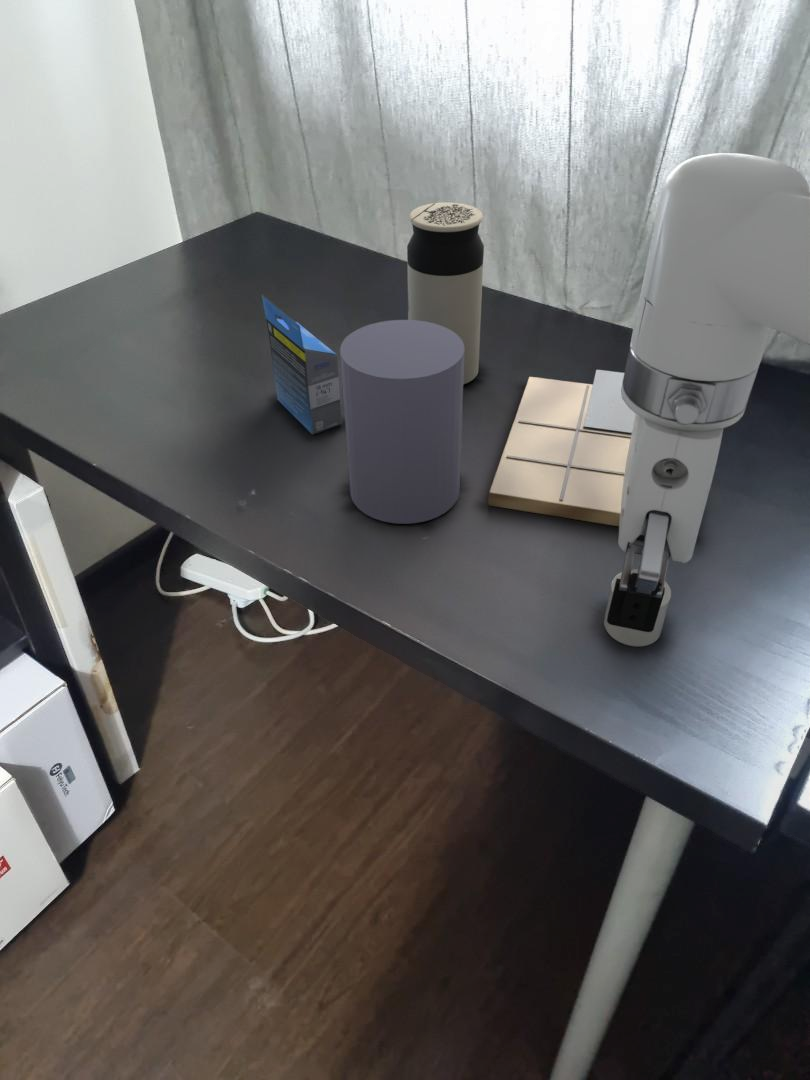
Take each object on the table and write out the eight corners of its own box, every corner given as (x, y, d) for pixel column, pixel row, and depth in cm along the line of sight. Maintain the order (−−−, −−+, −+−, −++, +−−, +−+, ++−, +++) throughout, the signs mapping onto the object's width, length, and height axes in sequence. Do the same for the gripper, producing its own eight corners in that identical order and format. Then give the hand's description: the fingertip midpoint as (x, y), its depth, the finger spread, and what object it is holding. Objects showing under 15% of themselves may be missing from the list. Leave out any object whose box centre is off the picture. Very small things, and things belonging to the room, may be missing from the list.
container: (474, 473, 80) (481, 330, 70) (436, 537, 73) (439, 388, 63) (376, 451, 83) (370, 312, 74) (331, 511, 76) (318, 365, 66)
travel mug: (491, 367, 96) (500, 210, 84) (453, 397, 91) (457, 234, 79) (434, 349, 100) (435, 196, 88) (395, 377, 95) (391, 218, 83)
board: (695, 395, 91) (699, 382, 89) (689, 538, 72) (693, 523, 71) (532, 375, 95) (533, 361, 93) (487, 505, 76) (488, 490, 75)
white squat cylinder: (662, 611, 66) (672, 574, 63) (659, 651, 62) (670, 614, 60) (606, 601, 67) (614, 564, 64) (601, 640, 63) (608, 603, 61)
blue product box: (344, 425, 87) (336, 316, 79) (311, 436, 86) (299, 326, 78) (306, 389, 93) (294, 284, 85) (274, 399, 91) (259, 293, 83)
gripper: (756, 468, 43) (682, 677, 55) (748, 323, 56) (689, 518, 67) (611, 445, 45) (568, 653, 56) (635, 309, 57) (596, 501, 69)
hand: (634, 579), depth 62 cm, fingers open, 9 cm apart
